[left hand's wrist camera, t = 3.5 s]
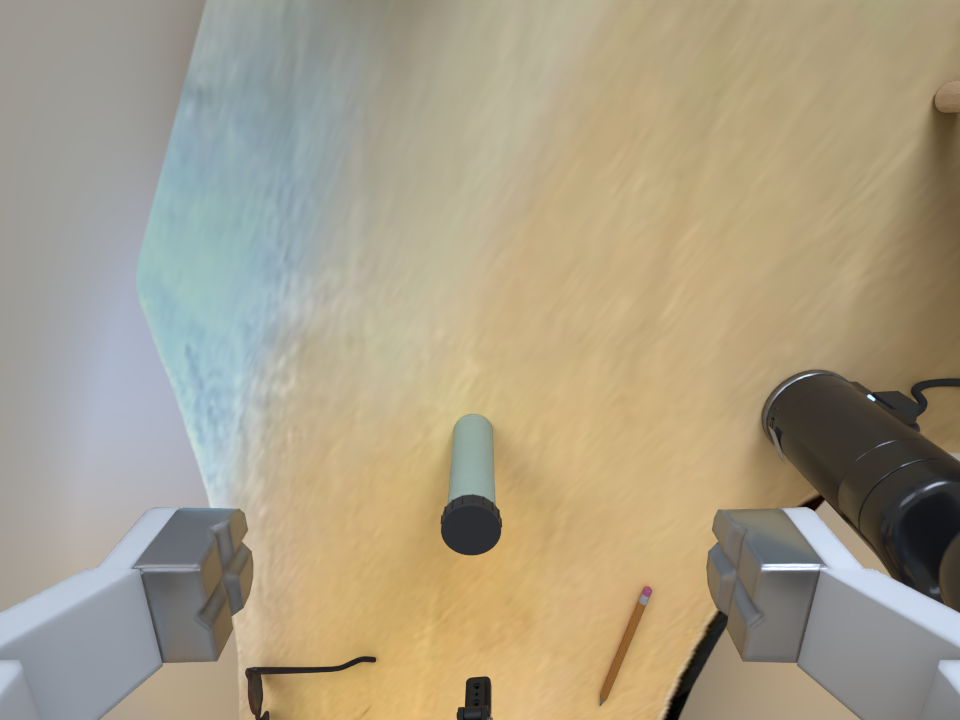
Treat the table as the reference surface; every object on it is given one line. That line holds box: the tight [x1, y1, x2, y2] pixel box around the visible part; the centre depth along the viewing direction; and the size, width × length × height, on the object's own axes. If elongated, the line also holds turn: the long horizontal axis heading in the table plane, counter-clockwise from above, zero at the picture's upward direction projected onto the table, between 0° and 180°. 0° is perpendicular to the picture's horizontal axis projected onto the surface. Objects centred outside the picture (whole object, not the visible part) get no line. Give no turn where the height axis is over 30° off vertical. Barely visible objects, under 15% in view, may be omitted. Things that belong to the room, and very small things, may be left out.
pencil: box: [600, 587, 652, 706], centre depth 74 cm, size 1×1×19 cm
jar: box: [448, 414, 496, 506], centre depth 56 cm, size 4×4×16 cm
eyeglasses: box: [245, 656, 376, 720], centre depth 75 cm, size 15×15×5 cm
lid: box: [441, 494, 502, 555], centre depth 49 cm, size 5×5×2 cm
